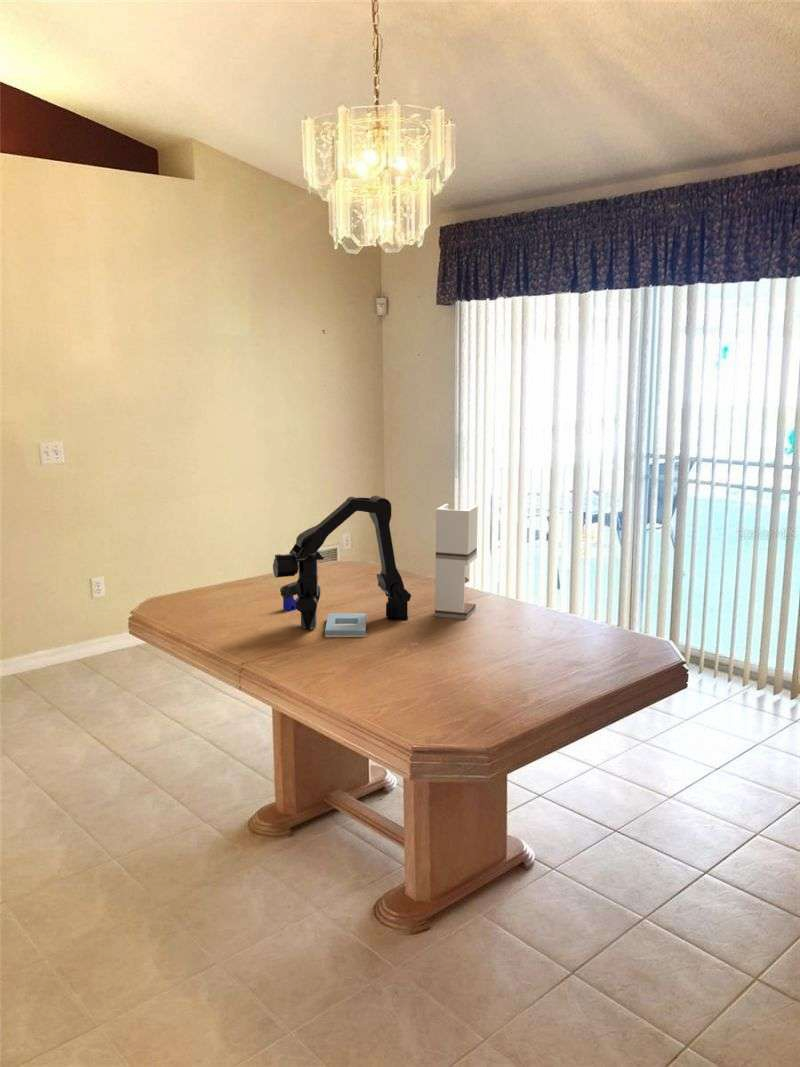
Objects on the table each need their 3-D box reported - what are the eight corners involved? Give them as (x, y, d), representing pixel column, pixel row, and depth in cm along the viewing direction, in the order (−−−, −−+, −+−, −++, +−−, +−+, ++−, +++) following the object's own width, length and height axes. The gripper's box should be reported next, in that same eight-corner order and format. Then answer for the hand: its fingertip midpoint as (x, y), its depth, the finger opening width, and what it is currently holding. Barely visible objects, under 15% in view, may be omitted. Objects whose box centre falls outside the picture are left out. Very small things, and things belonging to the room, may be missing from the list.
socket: (366, 619, 277) (366, 613, 276) (365, 636, 259) (365, 630, 259) (328, 619, 277) (328, 613, 276) (325, 636, 259) (324, 630, 258)
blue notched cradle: (304, 601, 298) (304, 584, 297) (314, 603, 295) (314, 586, 294) (280, 609, 288) (279, 592, 287) (290, 611, 286) (289, 594, 284)
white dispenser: (466, 619, 277) (469, 511, 271) (434, 616, 281) (436, 509, 274) (475, 610, 288) (477, 505, 281) (444, 607, 291) (446, 503, 285)
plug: (316, 625, 270) (316, 604, 268) (315, 630, 265) (315, 608, 264) (302, 625, 270) (301, 604, 268) (301, 630, 265) (300, 608, 264)
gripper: (284, 567, 273) (285, 615, 276) (278, 582, 255) (279, 633, 258) (320, 567, 274) (320, 615, 277) (316, 582, 255) (316, 633, 258)
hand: (308, 623), depth 267 cm, fingers open, 9 cm apart
